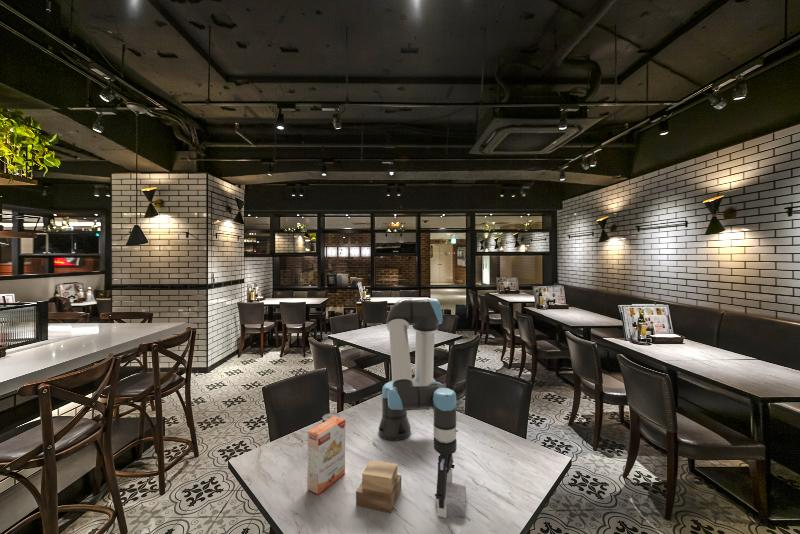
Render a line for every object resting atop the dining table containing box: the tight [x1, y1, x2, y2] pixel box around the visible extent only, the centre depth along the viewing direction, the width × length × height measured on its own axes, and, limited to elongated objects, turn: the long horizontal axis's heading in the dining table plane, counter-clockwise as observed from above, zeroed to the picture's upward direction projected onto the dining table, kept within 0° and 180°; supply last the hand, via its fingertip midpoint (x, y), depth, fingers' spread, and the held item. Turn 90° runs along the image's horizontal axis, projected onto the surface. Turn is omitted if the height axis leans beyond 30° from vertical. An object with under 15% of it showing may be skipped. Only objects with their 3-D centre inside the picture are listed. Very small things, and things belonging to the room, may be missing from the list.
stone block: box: [435, 482, 467, 518], centre depth 108 cm, size 12×5×10 cm
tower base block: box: [355, 474, 402, 514], centre depth 111 cm, size 12×12×5 cm
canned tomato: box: [321, 412, 341, 423], centre depth 146 cm, size 8×8×11 cm
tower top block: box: [361, 459, 398, 494], centre depth 111 cm, size 8×10×5 cm
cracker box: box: [306, 416, 346, 495], centre depth 119 cm, size 14×6×21 cm, turn 148°
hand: (445, 501), depth 108 cm, fingers open, 13 cm apart
